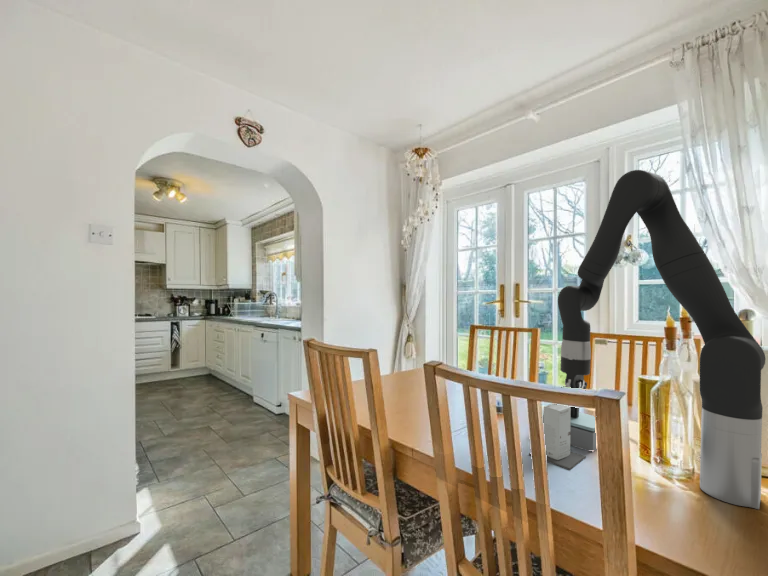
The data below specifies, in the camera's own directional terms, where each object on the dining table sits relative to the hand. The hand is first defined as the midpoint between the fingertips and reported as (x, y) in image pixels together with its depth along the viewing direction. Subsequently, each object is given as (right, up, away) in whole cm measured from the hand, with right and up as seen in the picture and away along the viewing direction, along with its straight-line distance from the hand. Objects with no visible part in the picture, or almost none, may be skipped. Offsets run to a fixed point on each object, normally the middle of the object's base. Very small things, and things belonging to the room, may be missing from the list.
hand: (573, 417), depth 106 cm
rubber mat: (-10, -6, -12) cm, 17 cm away
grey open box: (0, -6, 0) cm, 6 cm away
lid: (0, -1, 0) cm, 1 cm away
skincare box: (-10, -6, -12) cm, 17 cm away
